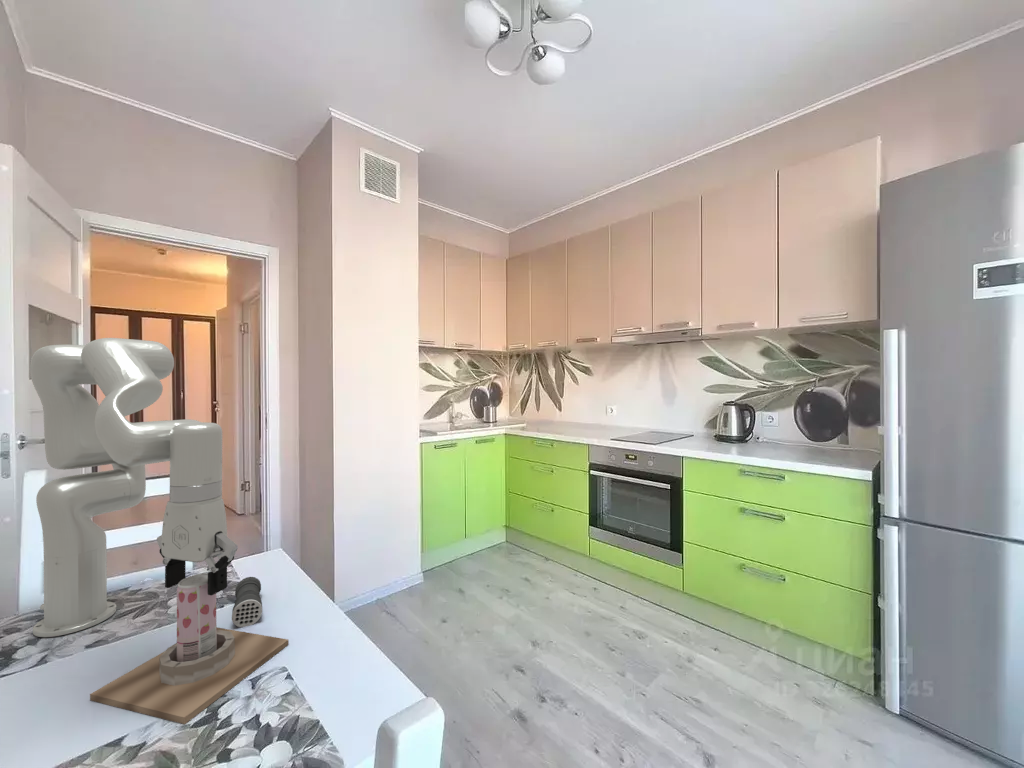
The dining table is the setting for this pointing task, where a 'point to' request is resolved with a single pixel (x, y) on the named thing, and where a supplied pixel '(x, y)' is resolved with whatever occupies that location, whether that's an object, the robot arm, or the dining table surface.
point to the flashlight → (247, 602)
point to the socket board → (189, 694)
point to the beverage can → (195, 619)
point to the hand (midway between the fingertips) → (196, 588)
